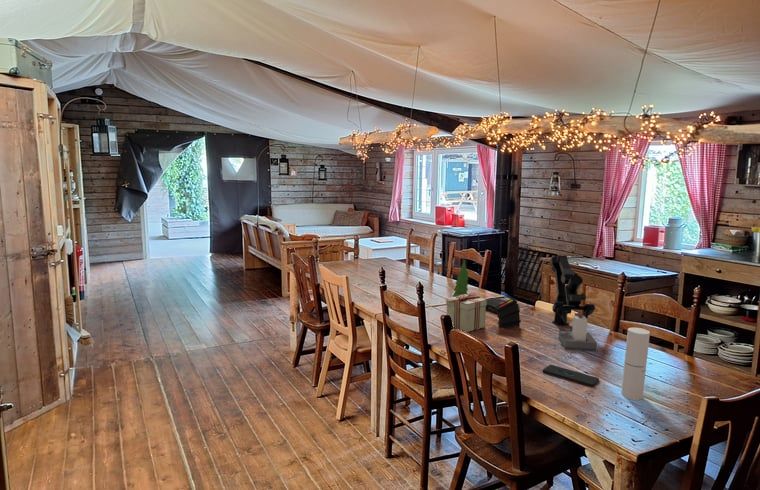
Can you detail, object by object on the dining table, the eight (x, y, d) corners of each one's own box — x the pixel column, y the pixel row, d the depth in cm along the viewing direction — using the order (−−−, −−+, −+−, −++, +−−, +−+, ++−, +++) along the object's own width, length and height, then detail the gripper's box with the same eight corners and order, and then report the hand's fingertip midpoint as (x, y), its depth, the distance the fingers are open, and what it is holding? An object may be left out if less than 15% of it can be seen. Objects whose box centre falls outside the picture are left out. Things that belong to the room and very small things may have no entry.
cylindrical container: (617, 391, 190) (623, 327, 186) (635, 391, 190) (642, 327, 186) (628, 400, 183) (635, 334, 179) (646, 399, 183) (654, 333, 179)
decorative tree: (468, 312, 288) (471, 260, 283) (452, 311, 288) (454, 260, 283) (466, 307, 297) (469, 257, 292) (450, 307, 297) (452, 257, 293)
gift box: (458, 319, 275) (459, 288, 272) (486, 327, 262) (488, 295, 259) (438, 325, 263) (439, 293, 260) (467, 334, 250) (469, 300, 247)
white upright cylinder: (571, 342, 239) (573, 312, 237) (582, 342, 239) (584, 313, 236) (573, 345, 234) (576, 315, 232) (585, 346, 234) (587, 316, 231)
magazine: (525, 323, 263) (516, 299, 260) (504, 335, 261) (494, 311, 258) (522, 321, 267) (512, 297, 263) (501, 333, 265) (491, 308, 261)
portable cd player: (518, 310, 295) (519, 304, 294) (498, 314, 285) (498, 308, 285) (497, 303, 308) (498, 297, 308) (477, 307, 299) (477, 301, 298)
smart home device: (550, 363, 212) (599, 377, 199) (550, 367, 212) (599, 381, 199) (542, 369, 205) (592, 384, 192) (541, 373, 206) (592, 388, 193)
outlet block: (558, 338, 246) (558, 330, 246) (588, 340, 245) (588, 332, 244) (564, 349, 233) (565, 340, 232) (596, 351, 231) (597, 342, 230)
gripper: (555, 285, 246) (559, 314, 237) (595, 288, 243) (600, 316, 235) (551, 297, 255) (554, 325, 246) (589, 299, 252) (594, 327, 244)
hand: (575, 323), depth 242 cm, fingers open, 9 cm apart
